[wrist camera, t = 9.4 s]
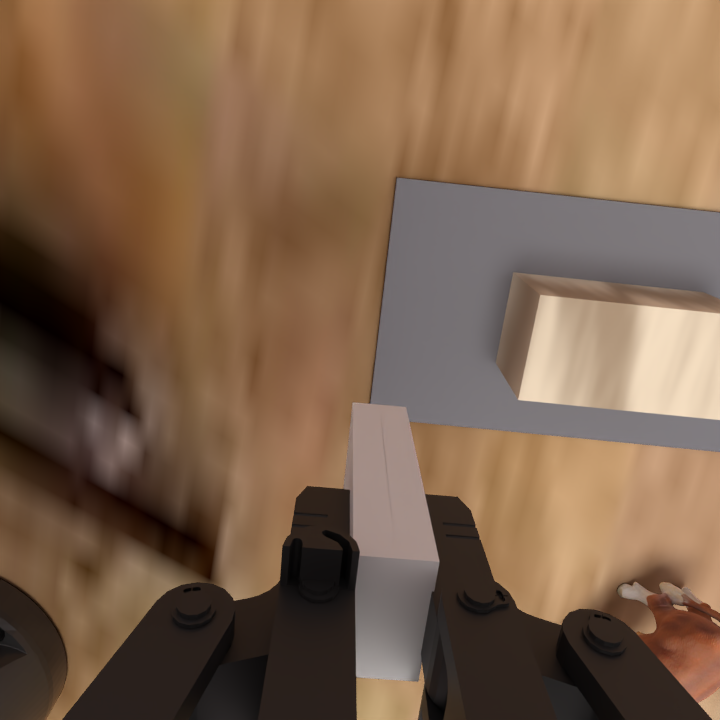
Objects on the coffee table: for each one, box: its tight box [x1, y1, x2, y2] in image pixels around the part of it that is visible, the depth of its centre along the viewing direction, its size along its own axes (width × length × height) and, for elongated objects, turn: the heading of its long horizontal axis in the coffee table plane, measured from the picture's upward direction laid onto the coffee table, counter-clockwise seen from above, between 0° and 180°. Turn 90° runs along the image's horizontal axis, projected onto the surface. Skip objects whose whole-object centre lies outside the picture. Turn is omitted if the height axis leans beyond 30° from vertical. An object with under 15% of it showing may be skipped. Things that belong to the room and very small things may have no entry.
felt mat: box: [370, 178, 720, 452], centre depth 31 cm, size 22×13×1 cm, turn 84°
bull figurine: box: [617, 582, 720, 703], centre depth 34 cm, size 4×13×8 cm, turn 136°
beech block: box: [496, 272, 720, 420], centre depth 29 cm, size 5×5×10 cm
